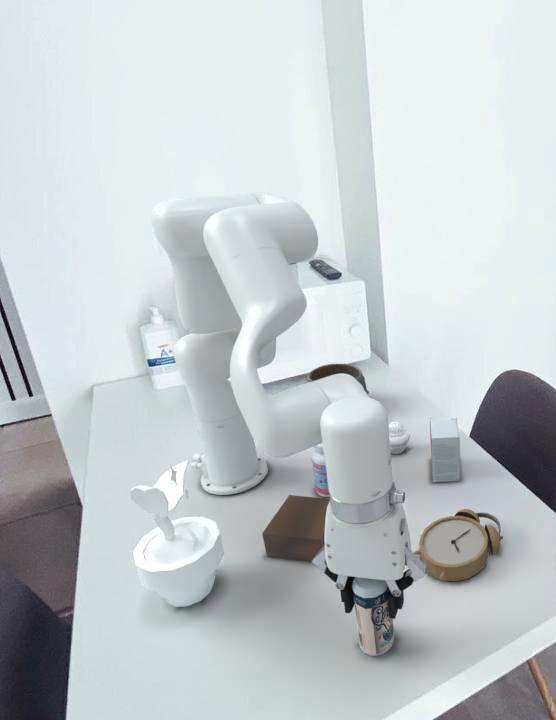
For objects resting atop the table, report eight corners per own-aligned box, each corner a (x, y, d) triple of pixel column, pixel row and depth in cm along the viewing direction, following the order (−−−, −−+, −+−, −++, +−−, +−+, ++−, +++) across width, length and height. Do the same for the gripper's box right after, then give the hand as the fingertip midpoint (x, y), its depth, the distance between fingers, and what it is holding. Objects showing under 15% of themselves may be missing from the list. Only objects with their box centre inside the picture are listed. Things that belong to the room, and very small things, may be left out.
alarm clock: (404, 540, 89) (471, 490, 97) (409, 560, 92) (475, 510, 99) (447, 580, 81) (516, 522, 89) (452, 601, 84) (519, 543, 92)
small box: (431, 460, 116) (429, 417, 111) (457, 459, 116) (456, 415, 112) (432, 483, 108) (430, 438, 104) (460, 481, 109) (459, 436, 104)
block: (266, 556, 90) (261, 533, 88) (292, 517, 99) (289, 494, 97) (323, 563, 89) (320, 539, 87) (345, 522, 98) (342, 499, 96)
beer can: (387, 661, 73) (381, 594, 68) (354, 654, 74) (345, 588, 69) (398, 630, 77) (393, 566, 72) (367, 625, 78) (359, 561, 73)
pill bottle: (309, 493, 106) (302, 444, 101) (329, 476, 111) (323, 428, 106) (334, 501, 103) (328, 451, 99) (353, 484, 108) (348, 435, 104)
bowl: (312, 398, 142) (307, 363, 138) (372, 394, 143) (369, 360, 139) (303, 425, 129) (298, 387, 125) (369, 421, 131) (366, 384, 127)
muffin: (379, 446, 121) (377, 418, 118) (406, 440, 123) (404, 413, 120) (386, 460, 116) (384, 432, 113) (414, 454, 118) (412, 426, 115)
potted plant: (202, 628, 78) (162, 484, 68) (130, 617, 79) (80, 475, 69) (249, 563, 89) (221, 431, 79) (185, 554, 91) (149, 425, 81)
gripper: (438, 484, 67) (441, 592, 75) (307, 472, 70) (323, 578, 77) (425, 525, 61) (430, 639, 68) (280, 510, 63) (301, 623, 70)
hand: (373, 606), depth 73 cm, fingers open, 5 cm apart
